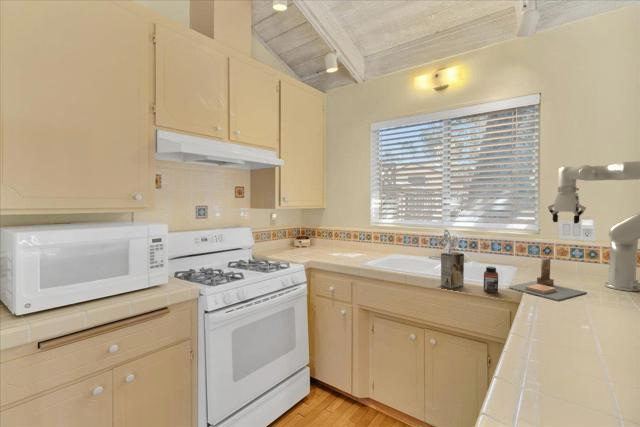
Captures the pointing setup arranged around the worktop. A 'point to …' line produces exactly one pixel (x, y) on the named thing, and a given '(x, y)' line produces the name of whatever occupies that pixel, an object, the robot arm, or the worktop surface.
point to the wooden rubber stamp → (545, 273)
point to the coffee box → (452, 269)
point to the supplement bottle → (491, 280)
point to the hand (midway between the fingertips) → (565, 222)
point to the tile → (540, 288)
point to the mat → (557, 296)
